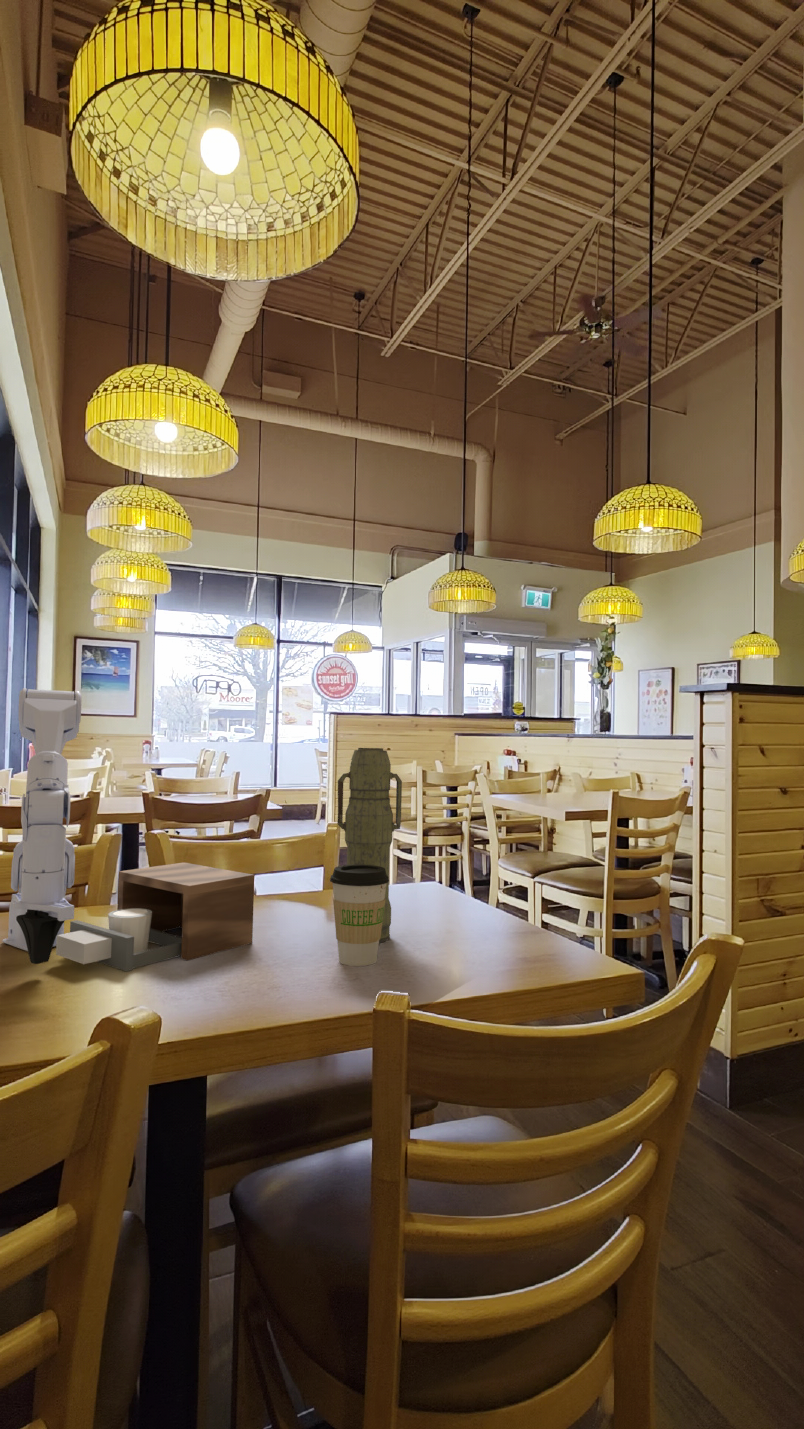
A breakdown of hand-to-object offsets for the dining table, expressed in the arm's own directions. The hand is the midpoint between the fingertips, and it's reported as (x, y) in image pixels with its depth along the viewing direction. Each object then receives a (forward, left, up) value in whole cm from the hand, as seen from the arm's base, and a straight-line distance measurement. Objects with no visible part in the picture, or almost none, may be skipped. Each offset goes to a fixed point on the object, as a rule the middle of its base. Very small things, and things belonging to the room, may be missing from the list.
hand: (39, 962), depth 108 cm
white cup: (0, +15, -2) cm, 15 cm away
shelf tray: (0, +13, -2) cm, 14 cm away
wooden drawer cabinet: (0, +26, -2) cm, 26 cm away
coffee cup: (+31, +37, -2) cm, 48 cm away
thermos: (+23, +49, -2) cm, 54 cm away
